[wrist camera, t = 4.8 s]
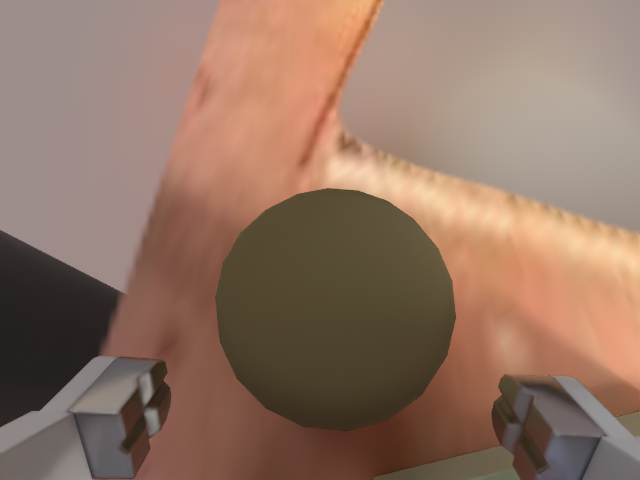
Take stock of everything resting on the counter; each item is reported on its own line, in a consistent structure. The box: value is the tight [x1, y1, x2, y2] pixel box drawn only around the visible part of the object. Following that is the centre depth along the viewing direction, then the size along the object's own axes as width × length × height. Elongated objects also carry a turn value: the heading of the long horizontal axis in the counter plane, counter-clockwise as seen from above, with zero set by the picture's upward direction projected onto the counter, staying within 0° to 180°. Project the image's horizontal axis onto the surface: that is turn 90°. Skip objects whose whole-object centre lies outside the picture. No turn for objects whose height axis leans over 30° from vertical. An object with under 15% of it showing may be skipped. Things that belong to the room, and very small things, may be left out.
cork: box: [216, 188, 456, 431], centre depth 11 cm, size 6×6×11 cm
